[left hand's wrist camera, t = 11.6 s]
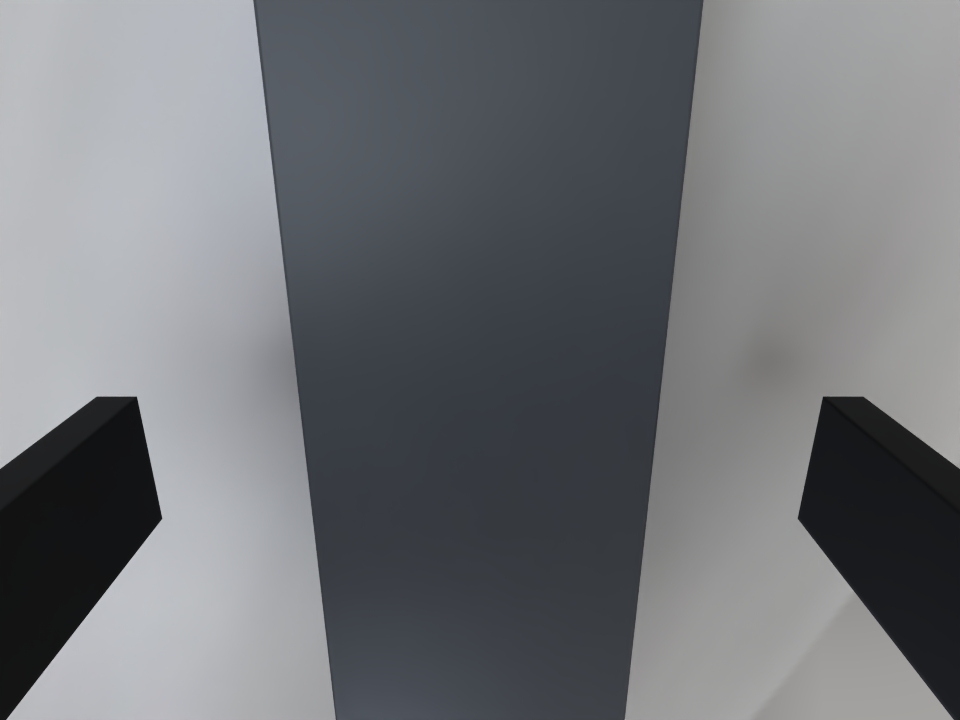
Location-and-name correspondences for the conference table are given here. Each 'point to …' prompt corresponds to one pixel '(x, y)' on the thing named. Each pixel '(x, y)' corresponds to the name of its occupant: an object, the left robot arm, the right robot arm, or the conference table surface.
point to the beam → (479, 333)
